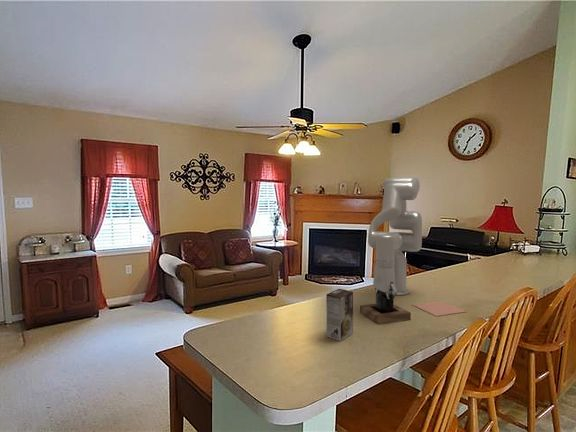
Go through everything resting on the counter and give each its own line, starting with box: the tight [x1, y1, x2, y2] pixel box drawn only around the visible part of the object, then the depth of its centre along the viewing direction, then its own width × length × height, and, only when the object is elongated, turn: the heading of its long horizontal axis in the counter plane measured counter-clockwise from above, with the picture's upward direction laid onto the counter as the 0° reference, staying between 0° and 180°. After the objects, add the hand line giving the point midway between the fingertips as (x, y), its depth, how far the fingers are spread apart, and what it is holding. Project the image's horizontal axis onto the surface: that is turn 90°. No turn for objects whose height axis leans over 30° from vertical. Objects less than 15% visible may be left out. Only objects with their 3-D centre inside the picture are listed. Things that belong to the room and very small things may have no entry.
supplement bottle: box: [375, 290, 393, 314], centre depth 149 cm, size 7×7×12 cm
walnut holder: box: [359, 303, 412, 325], centre depth 149 cm, size 15×15×3 cm
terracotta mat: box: [411, 300, 467, 317], centre depth 158 cm, size 16×16×1 cm
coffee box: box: [326, 288, 354, 342], centre depth 129 cm, size 9×6×16 cm
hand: (384, 304), depth 149 cm, fingers closed on supplement bottle, 6 cm apart
